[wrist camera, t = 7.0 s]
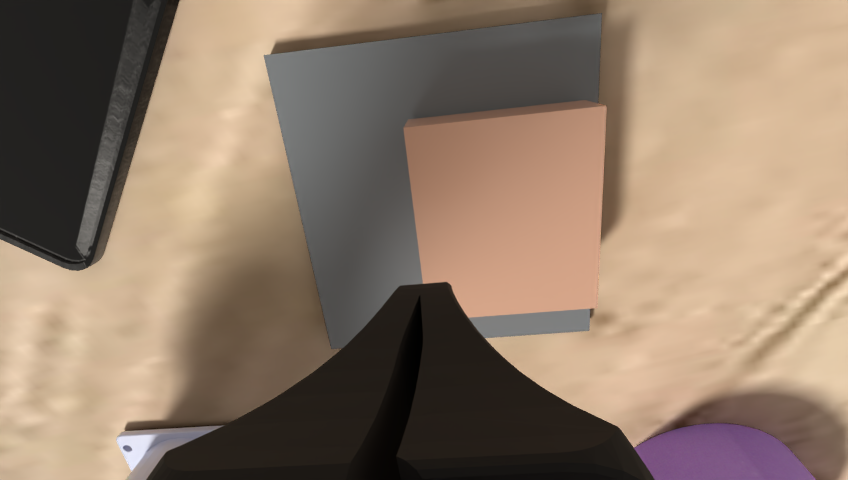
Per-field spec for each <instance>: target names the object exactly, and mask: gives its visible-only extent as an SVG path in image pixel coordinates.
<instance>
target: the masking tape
mask: <svg viewBox="0 0 848 480" xmlns="http://www.w3.org/2000/svg"><path fill="white" fill-rule="evenodd" d="M634 449H635V450H636V452H637V453H638V455H639V456H640V458H641V459H642V461H643V462H644V464H645V465H646V467H647V468H648V470H649V471H650V473H651V474H652V476H653V478H654V479H655V480H816V479H815V478H814V477H813V475H812V474H811V473H810V472H809V471H808V470H807V469H806V467H805V466H804V465H803V464H802V463H801V462H800V461H799V459H798V458H797V457H796V456H795V455H794V454H793V453H792V451H791V450H790V449H789V448H788V447H787V446H786V445H785V444H783V443H782V442H781V441H780V440H778V439H777V438H775V437H773V436H771V435H770V434H768V433H765V432H763V431H761V430H758V429H755V428H751V427H747V426H742V425H737V424H727V423H710V424H699V425H692V426H687V427H682V428H678V429H674V430H671V431H668V432H665V433H662V434H660V435H657V436H655V437H653V438H651V439H649V440H647V441H645V442H643V443H641V444H639V445H638V446H636V447H635V448H634Z"/></svg>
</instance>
